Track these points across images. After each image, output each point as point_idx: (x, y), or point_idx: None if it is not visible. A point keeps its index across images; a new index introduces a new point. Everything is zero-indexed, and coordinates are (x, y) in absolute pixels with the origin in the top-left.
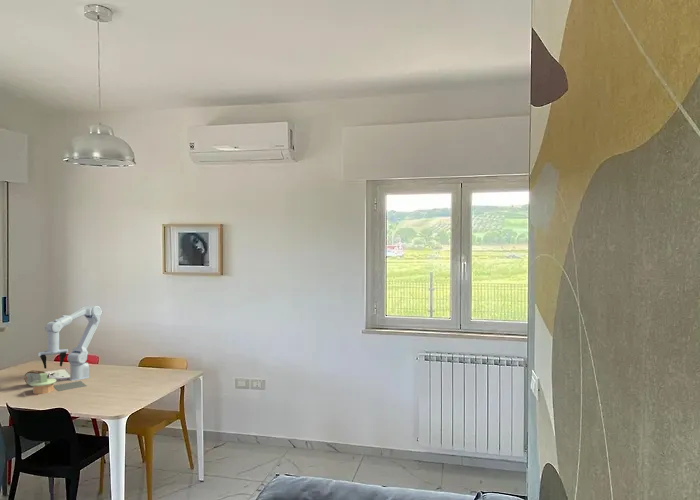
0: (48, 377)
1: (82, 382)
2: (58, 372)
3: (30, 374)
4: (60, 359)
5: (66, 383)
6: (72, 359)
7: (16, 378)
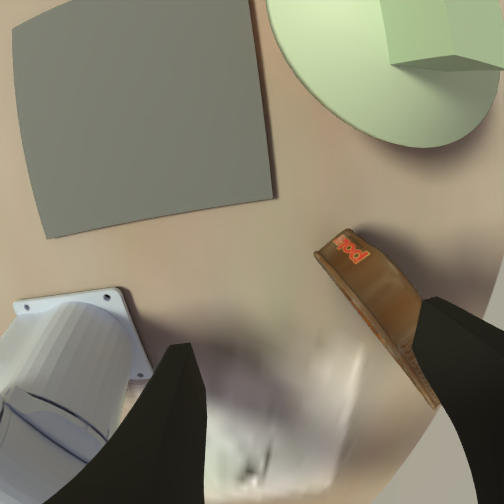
0: (329, 268)
1: (29, 171)
2: (222, 481)
3: None
4: (193, 486)
5: (152, 213)
6: (67, 479)
7: (386, 451)
